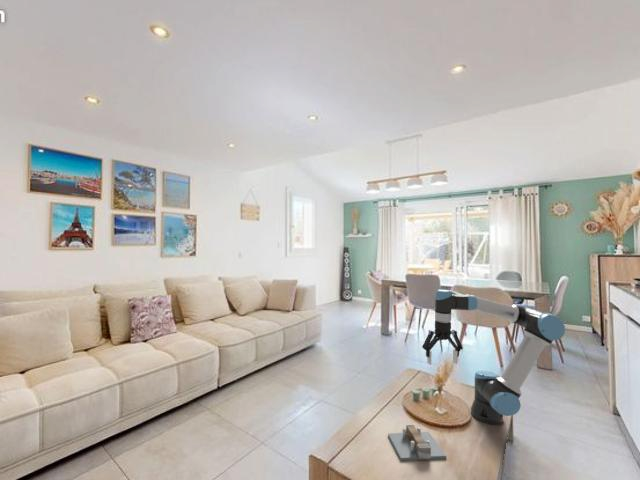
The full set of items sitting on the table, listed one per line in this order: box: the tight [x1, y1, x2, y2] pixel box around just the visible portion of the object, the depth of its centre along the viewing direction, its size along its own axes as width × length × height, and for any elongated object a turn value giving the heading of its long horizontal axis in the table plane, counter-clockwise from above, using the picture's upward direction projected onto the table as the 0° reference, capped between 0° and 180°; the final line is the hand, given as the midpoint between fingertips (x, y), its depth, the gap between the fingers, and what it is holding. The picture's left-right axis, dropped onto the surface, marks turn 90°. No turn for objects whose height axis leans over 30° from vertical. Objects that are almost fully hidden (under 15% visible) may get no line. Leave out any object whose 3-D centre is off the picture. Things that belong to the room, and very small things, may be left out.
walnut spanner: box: [405, 424, 431, 460], centre depth 130 cm, size 16×5×4 cm, turn 6°
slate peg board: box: [387, 426, 447, 462], centre depth 131 cm, size 20×16×5 cm
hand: (442, 363), depth 147 cm, fingers open, 13 cm apart
